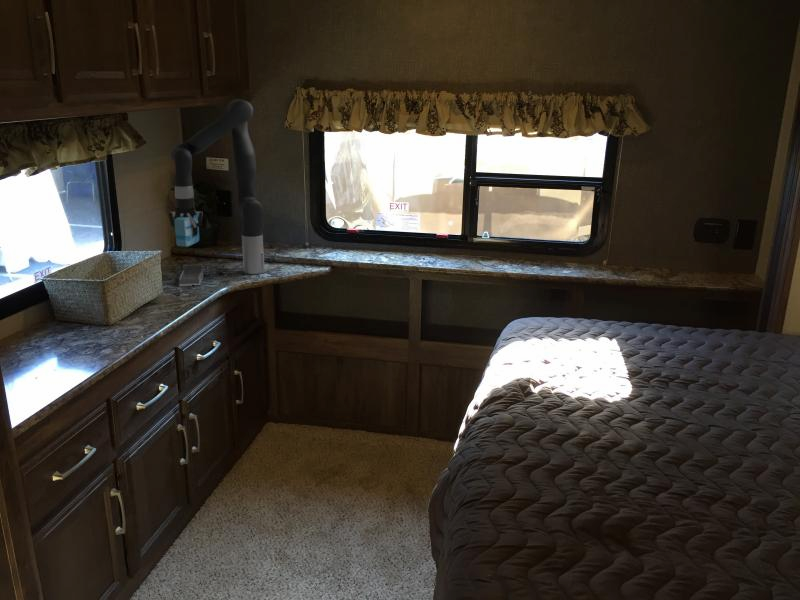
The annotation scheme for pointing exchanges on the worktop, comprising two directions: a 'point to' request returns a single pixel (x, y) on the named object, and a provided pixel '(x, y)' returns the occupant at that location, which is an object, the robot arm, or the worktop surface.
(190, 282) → the rail cradle
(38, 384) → the worktop surface
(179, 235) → the blue box
